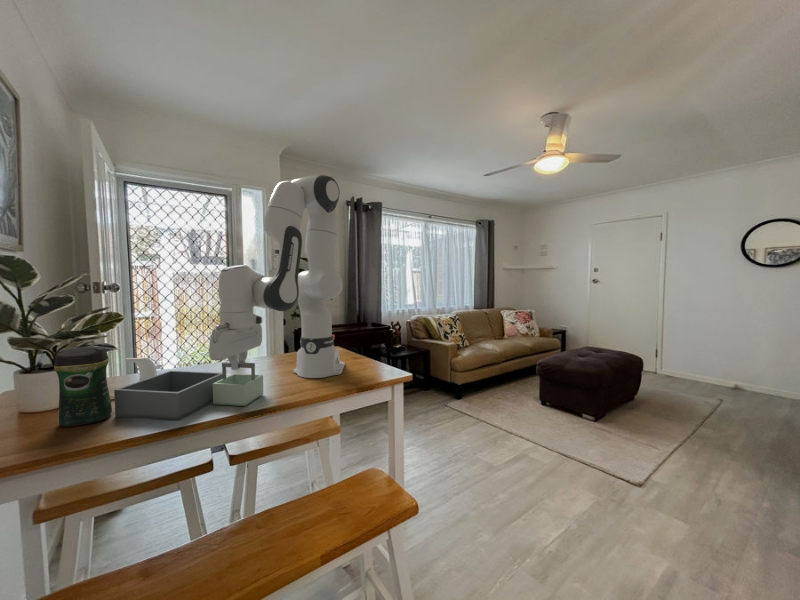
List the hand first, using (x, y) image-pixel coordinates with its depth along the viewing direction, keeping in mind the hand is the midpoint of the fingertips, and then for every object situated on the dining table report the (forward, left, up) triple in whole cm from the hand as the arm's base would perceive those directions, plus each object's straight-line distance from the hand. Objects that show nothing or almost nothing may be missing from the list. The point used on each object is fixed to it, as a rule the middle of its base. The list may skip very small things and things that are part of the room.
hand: (238, 368), depth 97 cm
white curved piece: (0, -32, -10) cm, 33 cm away
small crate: (0, 0, -9) cm, 9 cm away
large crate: (+6, -16, -10) cm, 19 cm away
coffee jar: (+18, -30, -10) cm, 36 cm away
